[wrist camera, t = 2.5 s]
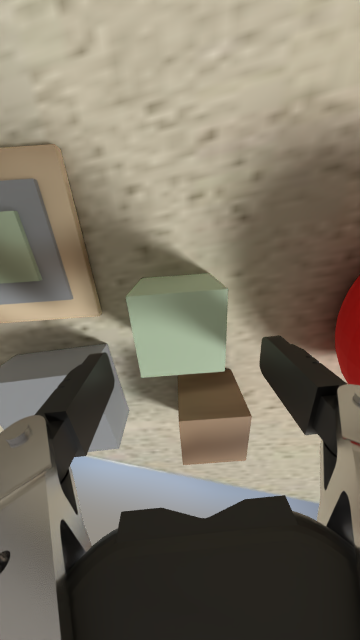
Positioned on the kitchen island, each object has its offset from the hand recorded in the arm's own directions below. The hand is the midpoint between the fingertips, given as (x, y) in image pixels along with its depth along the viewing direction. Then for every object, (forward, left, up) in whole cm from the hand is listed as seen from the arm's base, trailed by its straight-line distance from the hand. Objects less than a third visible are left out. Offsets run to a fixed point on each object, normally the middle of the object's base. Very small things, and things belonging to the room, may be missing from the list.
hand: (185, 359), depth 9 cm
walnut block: (+8, +2, -6) cm, 10 cm away
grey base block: (+6, -10, -6) cm, 13 cm away
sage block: (-1, 0, -6) cm, 6 cm away
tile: (-6, -11, -6) cm, 14 cm away
